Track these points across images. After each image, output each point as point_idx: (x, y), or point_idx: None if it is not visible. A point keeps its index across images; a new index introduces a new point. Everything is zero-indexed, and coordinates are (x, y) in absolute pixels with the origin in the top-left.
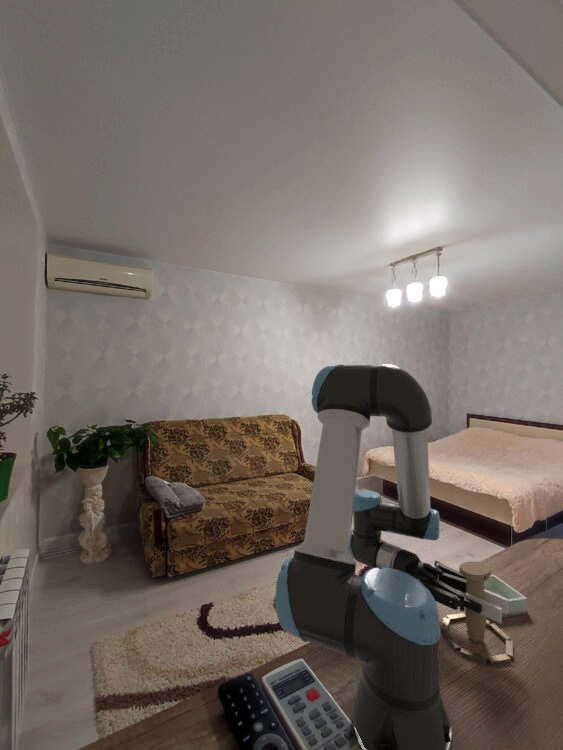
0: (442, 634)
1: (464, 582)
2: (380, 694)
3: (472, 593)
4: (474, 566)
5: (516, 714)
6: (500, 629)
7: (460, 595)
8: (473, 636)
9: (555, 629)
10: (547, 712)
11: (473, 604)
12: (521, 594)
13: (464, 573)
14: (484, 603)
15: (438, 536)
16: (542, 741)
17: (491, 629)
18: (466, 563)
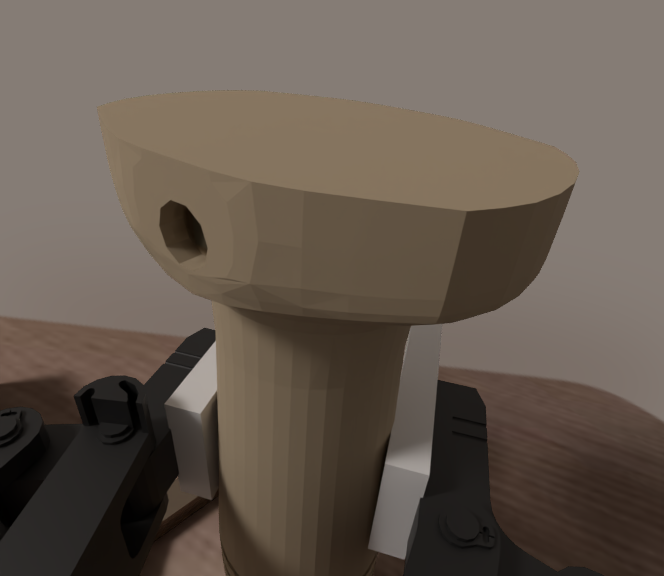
0: None
1: (107, 513)
2: None
3: (396, 402)
4: (275, 125)
5: (621, 458)
6: (177, 479)
7: (496, 533)
8: None
9: (93, 328)
10: (518, 388)
11: (485, 431)
12: None
13: (557, 221)
14: (437, 349)
15: None
16: (638, 408)
17: (164, 533)
18: (220, 154)
